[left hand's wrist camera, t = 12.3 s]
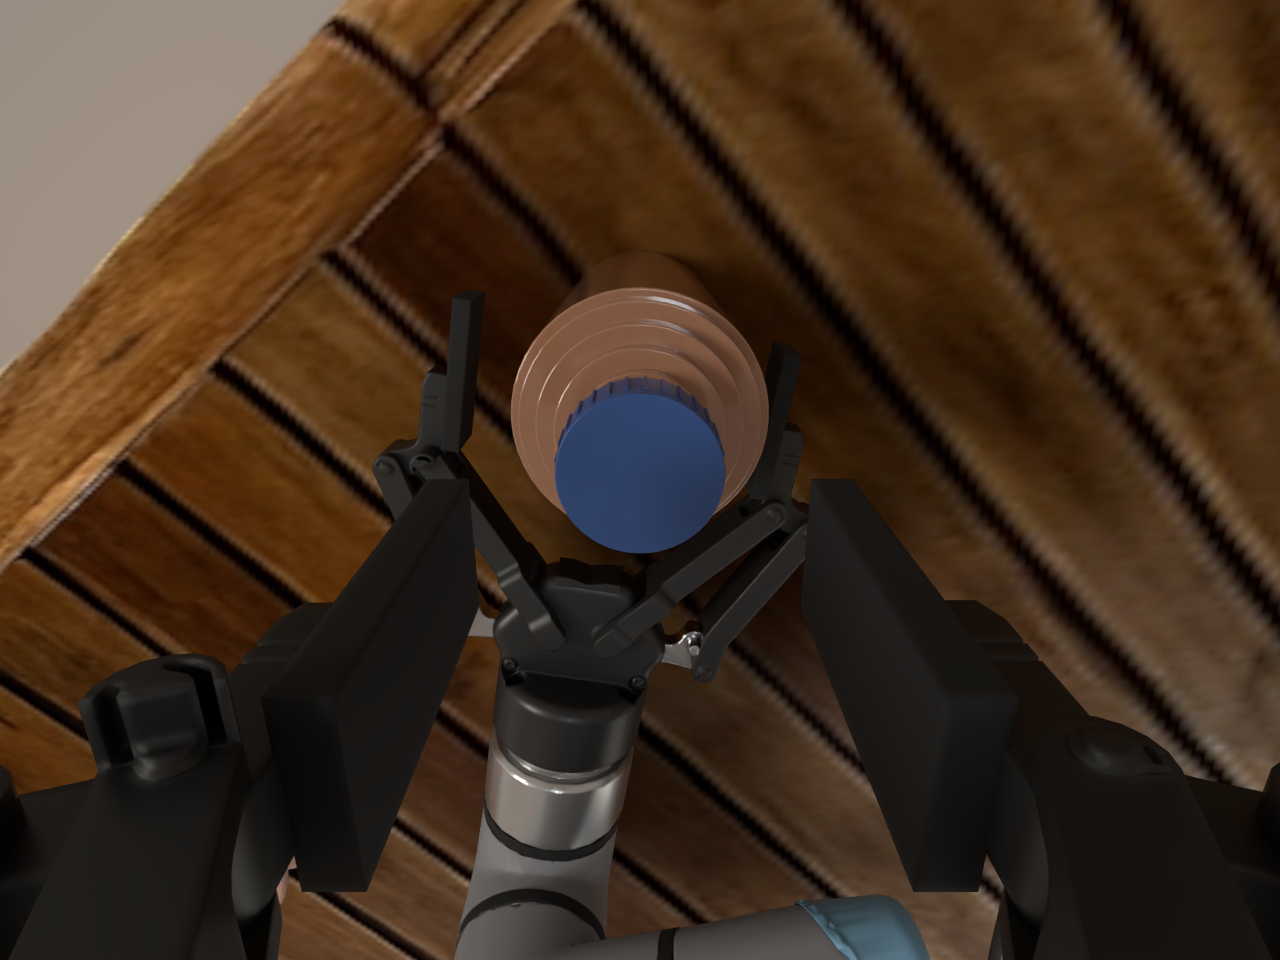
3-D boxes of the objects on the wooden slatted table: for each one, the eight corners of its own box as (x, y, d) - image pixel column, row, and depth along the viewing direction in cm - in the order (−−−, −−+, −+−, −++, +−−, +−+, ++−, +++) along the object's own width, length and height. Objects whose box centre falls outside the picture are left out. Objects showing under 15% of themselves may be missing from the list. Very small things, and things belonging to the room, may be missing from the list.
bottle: (747, 316, 38) (866, 444, 18) (652, 433, 40) (665, 661, 20) (625, 216, 36) (608, 235, 16) (533, 344, 38) (418, 497, 18)
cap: (753, 440, 19) (764, 462, 18) (653, 556, 20) (654, 586, 19) (625, 340, 18) (623, 354, 17) (527, 468, 20) (517, 491, 18)
